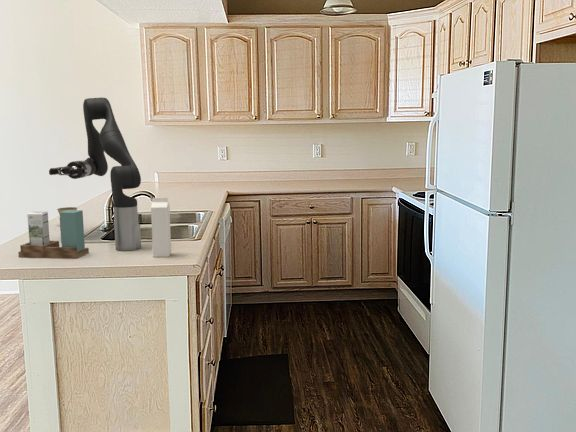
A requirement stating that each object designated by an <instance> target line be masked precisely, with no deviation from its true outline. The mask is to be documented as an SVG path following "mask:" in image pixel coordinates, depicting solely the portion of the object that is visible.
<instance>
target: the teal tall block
mask: <svg viewBox="0 0 576 432" xmlns="http://www.w3.org/2000/svg"><path fill="white" fill-rule="evenodd" d="M59 227H60V231H59V232H60V242H61V247H75V248H77V252H79V251H81V250H83V249H85V248H86V246H85V245H86V243H85V229H84V228H85V226H84V213H83V210H81V209H77V210H67V211H63V212H60V215H59Z"/></svg>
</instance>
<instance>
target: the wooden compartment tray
mask: <svg viewBox="0 0 576 432" xmlns="http://www.w3.org/2000/svg"><path fill="white" fill-rule="evenodd" d="M89 250H90V249H89V247H85V249H83V250H81V251H79V252H77V248H75V247H62V246H61V247H60V240H50V243H49V244H47V245H30V241H29V242H27V243H25V244H24V243H23V244H21V245H20V251H18V258H33V259H34V258H37V259H38V258H39V259H71V260H72V259H78V258H81V257H83V256H86V255H87V254H89V253H90V251H89Z"/></svg>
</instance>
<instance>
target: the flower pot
mask: <svg viewBox="0 0 576 432" xmlns="http://www.w3.org/2000/svg"><path fill="white" fill-rule="evenodd" d="M56 210H57V213H58V214H59V216H60V212H63V211H67V210H78V207H75V206H73V207H72V206H69V207H67V206H66V207H60V208H57V209H56Z"/></svg>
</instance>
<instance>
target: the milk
mask: <svg viewBox="0 0 576 432" xmlns="http://www.w3.org/2000/svg"><path fill="white" fill-rule="evenodd" d="M170 209H171V208H170V203H169V198H168V197H152V198H151V205H150V213H151V214H150V215H151V219H150V220H151V239H152V241H151V242H152V243H151V244H152V257H153V258H163V257H164V258H169V257H170V256H171V255H172V241H171V239H172V237H171V215H170V214H171V213H170V211H171V210H170Z"/></svg>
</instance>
